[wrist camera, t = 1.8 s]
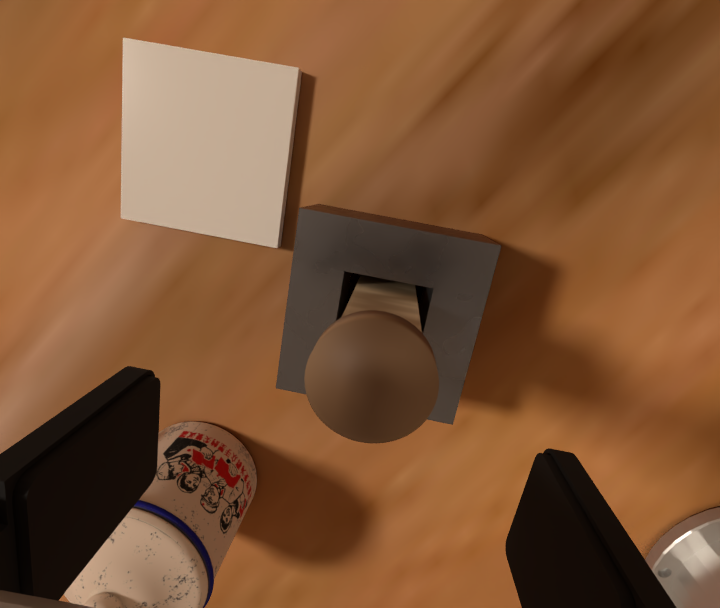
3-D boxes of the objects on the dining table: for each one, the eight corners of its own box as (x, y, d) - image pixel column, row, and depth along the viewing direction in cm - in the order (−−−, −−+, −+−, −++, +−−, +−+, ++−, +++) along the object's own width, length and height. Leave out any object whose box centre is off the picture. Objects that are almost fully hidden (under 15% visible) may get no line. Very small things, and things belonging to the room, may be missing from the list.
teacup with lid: (286, 476, 31) (221, 639, 20) (210, 539, 33) (113, 716, 22) (164, 364, 29) (19, 472, 18) (93, 438, 32) (-75, 574, 21)
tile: (302, 71, 24) (298, 67, 23) (280, 246, 26) (277, 248, 26) (131, 42, 24) (123, 37, 23) (128, 217, 27) (120, 218, 26)
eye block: (482, 234, 25) (501, 245, 20) (443, 383, 28) (452, 424, 23) (318, 204, 25) (299, 207, 21) (297, 353, 28) (275, 388, 23)
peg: (429, 268, 26) (453, 335, 14) (413, 339, 27) (422, 454, 15) (353, 253, 26) (314, 307, 14) (341, 325, 27) (296, 428, 16)
